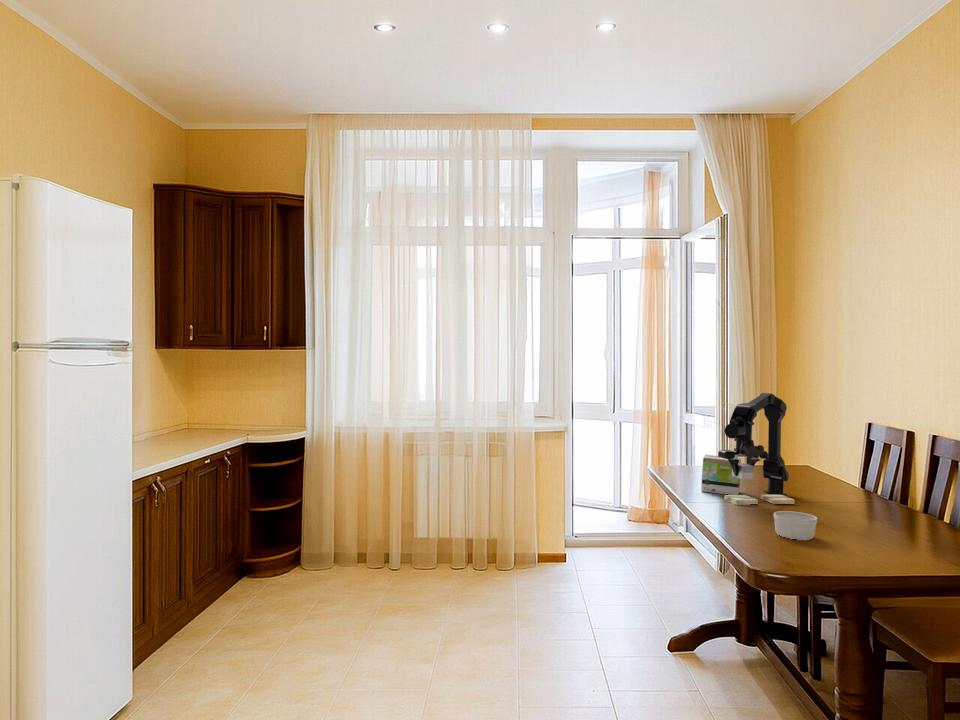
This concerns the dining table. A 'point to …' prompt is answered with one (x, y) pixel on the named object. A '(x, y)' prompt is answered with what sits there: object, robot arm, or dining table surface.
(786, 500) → the stand
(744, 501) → the stand
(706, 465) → the tea box
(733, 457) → the robot arm
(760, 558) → the dining table surface
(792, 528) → the ramekin
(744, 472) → the block
